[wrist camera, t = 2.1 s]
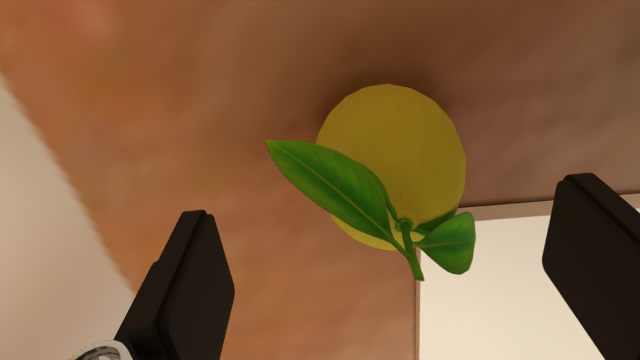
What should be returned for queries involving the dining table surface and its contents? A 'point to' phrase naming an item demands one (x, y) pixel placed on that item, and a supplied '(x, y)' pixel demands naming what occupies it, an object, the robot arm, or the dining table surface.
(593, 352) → the plate
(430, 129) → the lemon
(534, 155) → the dining table surface
